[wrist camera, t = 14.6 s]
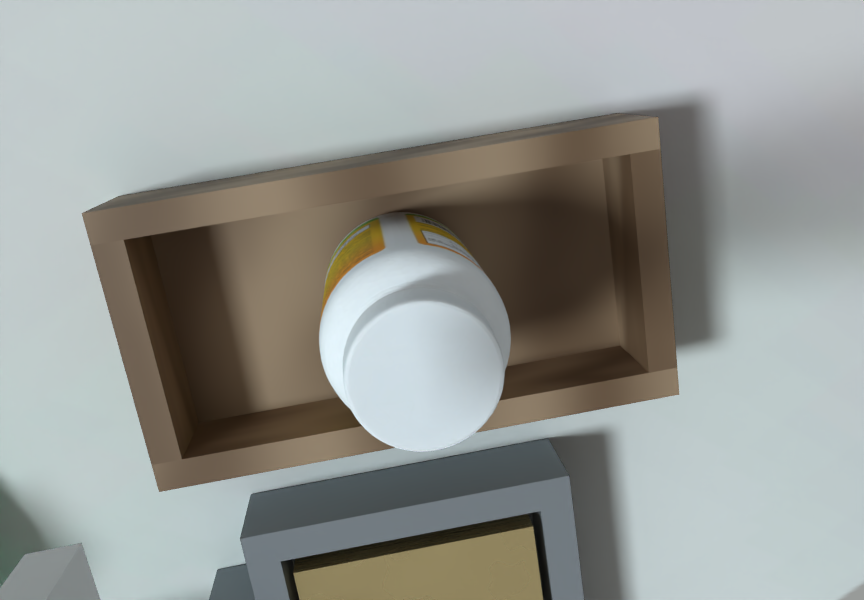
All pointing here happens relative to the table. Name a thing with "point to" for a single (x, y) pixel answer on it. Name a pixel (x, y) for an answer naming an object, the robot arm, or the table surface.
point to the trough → (307, 267)
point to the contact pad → (430, 566)
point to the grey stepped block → (409, 516)
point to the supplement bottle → (413, 333)
